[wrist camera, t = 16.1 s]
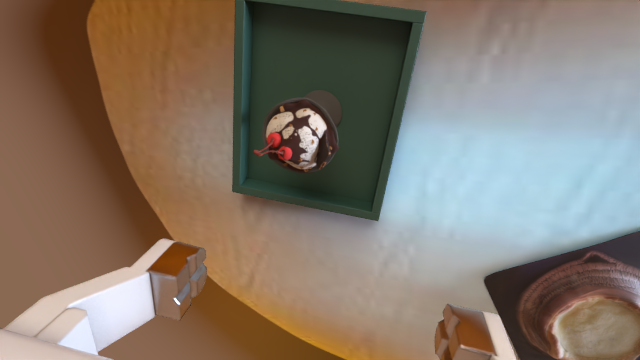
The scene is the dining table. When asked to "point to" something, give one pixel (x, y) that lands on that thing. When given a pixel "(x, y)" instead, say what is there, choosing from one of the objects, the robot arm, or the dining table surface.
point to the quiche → (574, 303)
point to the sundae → (302, 132)
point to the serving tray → (328, 75)
